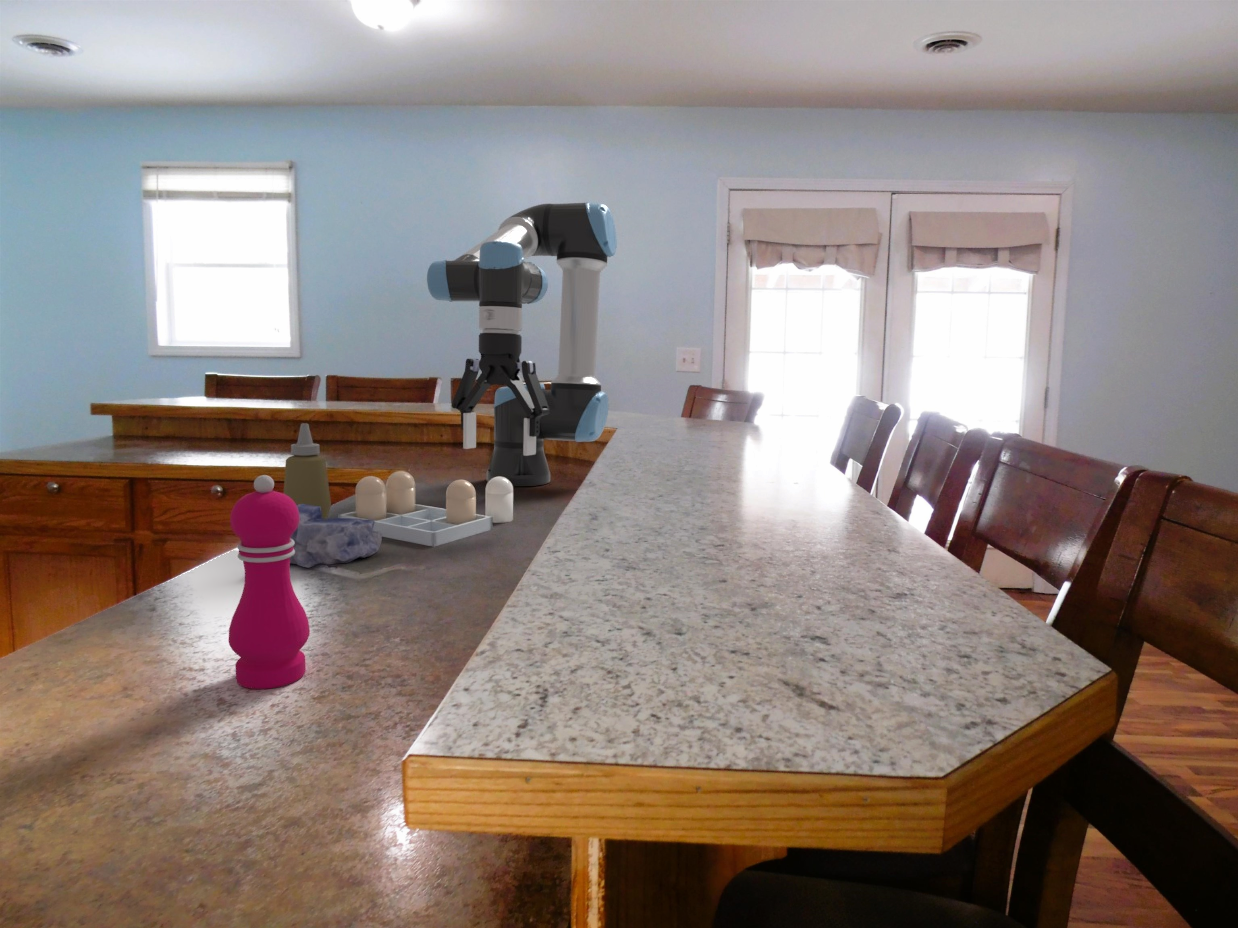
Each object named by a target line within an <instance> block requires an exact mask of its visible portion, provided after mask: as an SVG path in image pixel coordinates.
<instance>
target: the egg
mask: <svg viewBox="0 0 1238 928" xmlns="http://www.w3.org/2000/svg"><path fill="white" fill-rule="evenodd" d="M484 495H485V498H484V499H485V501H484V502H485V505H484V506H485V507H484V509H485V510H484V511H485V514H484V515H485V516H491V517H493V524H495V523H496V524H504V523H510V522H512V521H514V486H512V484H511V482H510V481H509V480H508V479H507V478H505V477H500V476H498V477H494V478H492V479H491V480H490V481H489V482H487V483H486V486H485V493H484Z"/></svg>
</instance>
